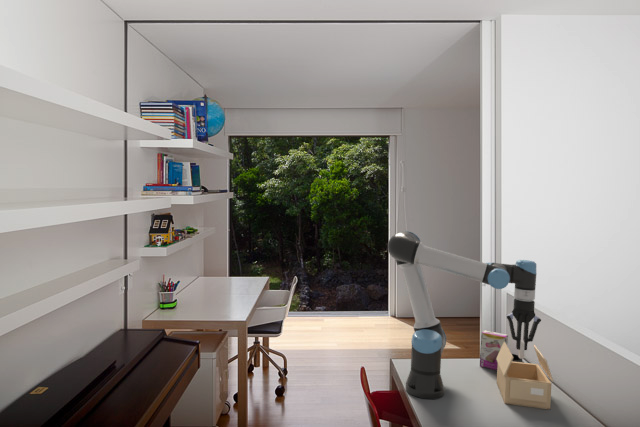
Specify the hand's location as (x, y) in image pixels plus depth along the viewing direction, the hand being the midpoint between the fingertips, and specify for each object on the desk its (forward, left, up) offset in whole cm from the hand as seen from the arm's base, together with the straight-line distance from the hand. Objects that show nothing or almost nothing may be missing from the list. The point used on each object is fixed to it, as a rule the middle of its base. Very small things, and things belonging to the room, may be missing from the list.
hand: (521, 357), depth 180 cm
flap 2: (+8, 0, -1) cm, 8 cm away
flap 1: (-6, 0, -1) cm, 6 cm away
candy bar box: (-6, +28, -16) cm, 33 cm away
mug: (+1, +20, -16) cm, 25 cm away
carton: (+1, 0, -15) cm, 15 cm away
